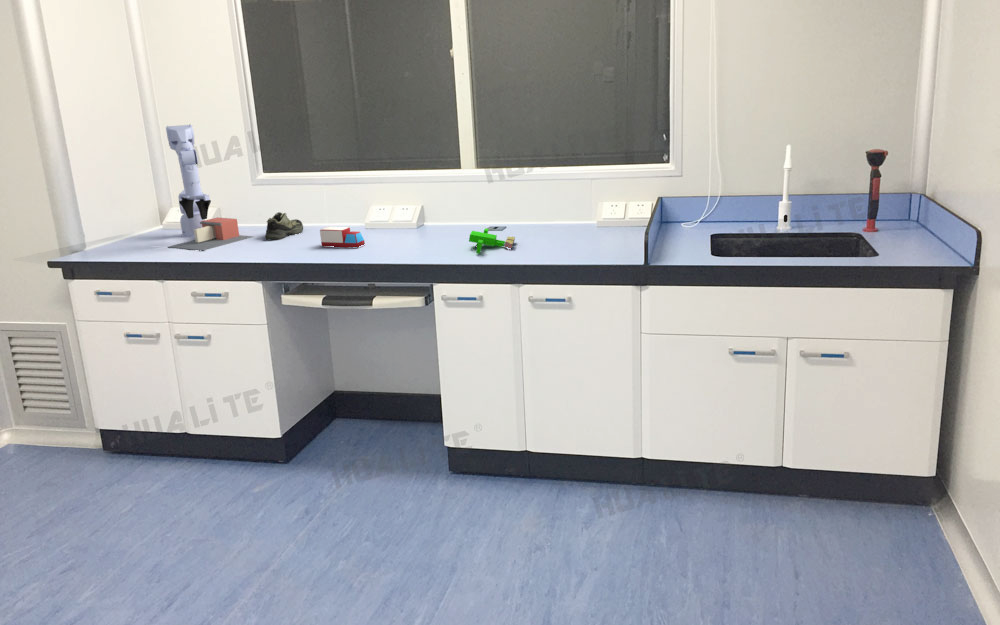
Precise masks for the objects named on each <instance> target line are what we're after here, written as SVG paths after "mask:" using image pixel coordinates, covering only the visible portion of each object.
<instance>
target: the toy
mask: <svg viewBox="0 0 1000 625" xmlns="http://www.w3.org/2000/svg"><path fill="white" fill-rule="evenodd" d="M497 236H498V234H492V233H489V228H484V230H483V232H481V231H475V230H471V232H470V234H469V238H468V239H469V240H468V242H470V243H475V247H476V246H477V249H476V252H475V253H476V254H481V252H482V248H483V246H484V245H486V246H492V247H494V246H497V247H501V246H505V247H508V248H512V249H513V247H512V246H514V244H513V243H515V239H516V236H506V237H507V238H506V240H501V239H497ZM505 247H504V248H505ZM480 251H481V252H480Z"/></svg>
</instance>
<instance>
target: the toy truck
mask: <svg viewBox="0 0 1000 625" xmlns="http://www.w3.org/2000/svg"><path fill="white" fill-rule="evenodd" d="M319 233H320V241H321V242H320V243H321V247H322V246H334V247H359V246H361V245H364V244H365V239H364V237H363V235H362V233H361V231H351V229H350V226H348V227H347V226H346V227H343V226H340V227H339V226H326V227H324V228H322V229H320V230H319ZM365 245H366V244H365ZM365 245H364V246H365Z"/></svg>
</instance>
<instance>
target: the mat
mask: <svg viewBox="0 0 1000 625" xmlns="http://www.w3.org/2000/svg"><path fill="white" fill-rule="evenodd" d="M251 238H255V236H252V235H240V234H239V236H237V237H233V238H230V239H226V240H217V239H216V238H214V239H210V240H206V241H202V242H196V240H195V239H192V240H188V241H184V242H182V243H177V244H176V243H175V244H172V245H168V246H167V248H169V249H177V250H185V251H187V250H188V251H195V250H201V251H200V252H205V251H208V250H211V249H215V248H218V247H223V246H226V245H229V244H233V243H236V242H240V241H244V240H247V239H251Z"/></svg>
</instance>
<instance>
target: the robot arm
mask: <svg viewBox="0 0 1000 625" xmlns="http://www.w3.org/2000/svg"><path fill="white" fill-rule="evenodd" d="M165 130H166V131H165V132H166V137H167V141H168V146H169V147H170V149H171V150H173V151H175V153H176V154H177V157H178V158H177V159H178V163H179V168H180V173H181V179H182V184H183V190H182V191H181V192H180V193H179V194H178V204H179V210H180V213H181V214H182V215H181V216H180V220H179V222H180V228H181V234H182V235H180V237H185V238H194V239H195V234H194V229H198V228H202V224H200V222H201V221H205V220H208V214H209V213H208V212H209V209H210V205H211V202H212V201H211V200H210V195H209V194H206V193H203V191H202V188H201V181H200V176H199V174H200V173H199V168H198V165H199V160H198V154H197V151H196V149H194V148H195V133H194V128H193V125H192V124H183V125H181V124H180V125H167V126H166V127H165Z"/></svg>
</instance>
